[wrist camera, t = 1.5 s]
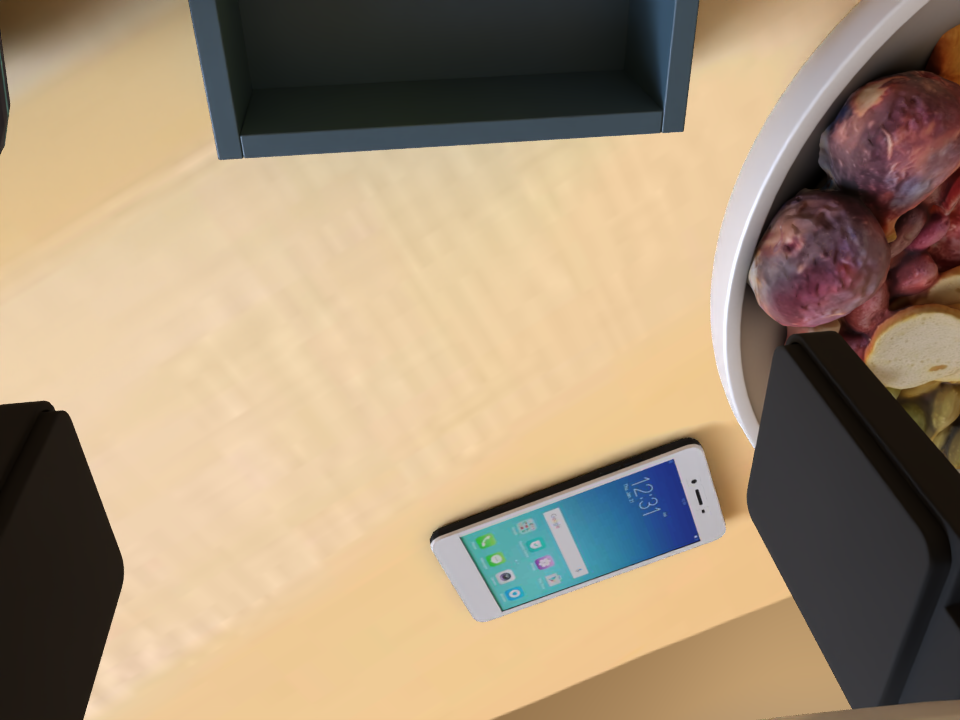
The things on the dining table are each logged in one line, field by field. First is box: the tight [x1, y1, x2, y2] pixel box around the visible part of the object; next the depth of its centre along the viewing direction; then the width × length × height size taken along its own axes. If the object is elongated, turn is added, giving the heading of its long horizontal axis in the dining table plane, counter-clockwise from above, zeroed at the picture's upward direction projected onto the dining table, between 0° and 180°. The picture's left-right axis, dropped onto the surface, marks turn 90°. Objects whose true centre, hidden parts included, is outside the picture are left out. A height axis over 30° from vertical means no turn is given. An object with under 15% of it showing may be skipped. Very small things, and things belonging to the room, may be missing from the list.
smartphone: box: [430, 438, 726, 622], centre depth 47 cm, size 8×1×15 cm
